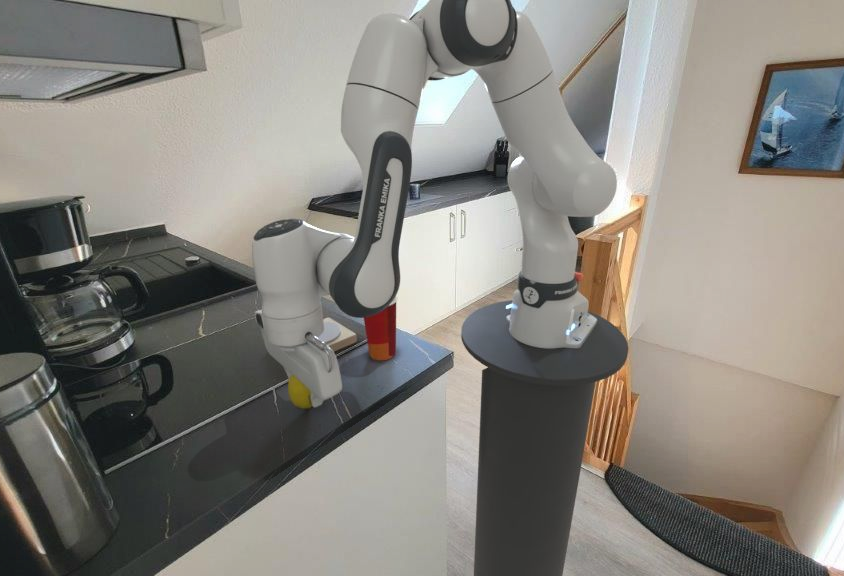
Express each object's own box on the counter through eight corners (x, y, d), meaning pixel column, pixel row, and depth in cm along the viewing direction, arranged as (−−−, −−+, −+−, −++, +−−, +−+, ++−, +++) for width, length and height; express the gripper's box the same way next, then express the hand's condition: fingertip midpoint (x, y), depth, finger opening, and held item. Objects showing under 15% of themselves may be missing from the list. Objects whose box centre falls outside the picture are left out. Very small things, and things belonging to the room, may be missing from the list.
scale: (329, 324, 99) (328, 314, 98) (357, 341, 91) (356, 331, 90) (274, 345, 90) (272, 335, 89) (299, 366, 82) (297, 355, 81)
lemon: (330, 400, 72) (325, 362, 69) (313, 421, 67) (306, 381, 64) (304, 395, 74) (297, 357, 71) (285, 414, 69) (277, 375, 66)
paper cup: (389, 340, 91) (386, 283, 86) (407, 355, 86) (404, 295, 80) (357, 351, 87) (352, 292, 82) (374, 367, 82) (369, 305, 76)
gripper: (347, 339, 59) (355, 414, 64) (285, 299, 73) (296, 364, 78) (308, 355, 55) (320, 435, 60) (249, 310, 69) (263, 377, 74)
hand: (306, 394), depth 69 cm, fingers closed on lemon, 5 cm apart
